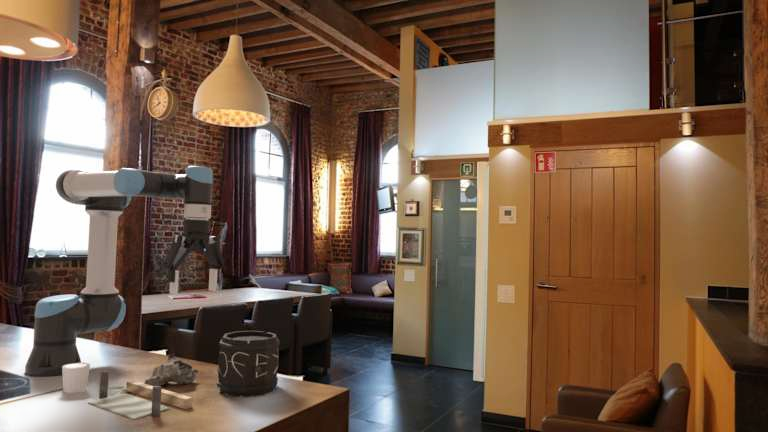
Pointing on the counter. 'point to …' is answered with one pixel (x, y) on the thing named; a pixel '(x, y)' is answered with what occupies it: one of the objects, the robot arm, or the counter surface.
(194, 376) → the decorative stone
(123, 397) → the grey tray with pegs
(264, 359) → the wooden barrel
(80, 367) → the shot glass
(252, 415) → the counter surface
